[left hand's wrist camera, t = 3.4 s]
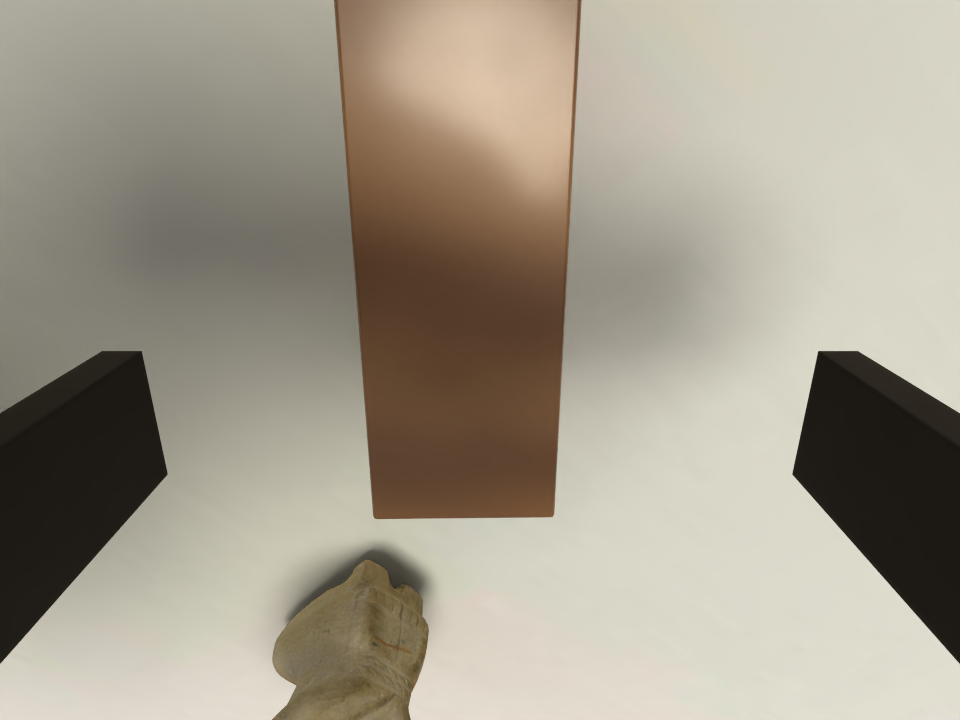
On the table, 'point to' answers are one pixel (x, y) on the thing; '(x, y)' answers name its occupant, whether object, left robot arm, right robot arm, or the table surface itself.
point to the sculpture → (354, 650)
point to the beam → (460, 245)
